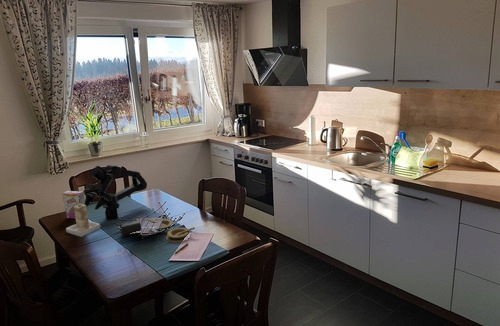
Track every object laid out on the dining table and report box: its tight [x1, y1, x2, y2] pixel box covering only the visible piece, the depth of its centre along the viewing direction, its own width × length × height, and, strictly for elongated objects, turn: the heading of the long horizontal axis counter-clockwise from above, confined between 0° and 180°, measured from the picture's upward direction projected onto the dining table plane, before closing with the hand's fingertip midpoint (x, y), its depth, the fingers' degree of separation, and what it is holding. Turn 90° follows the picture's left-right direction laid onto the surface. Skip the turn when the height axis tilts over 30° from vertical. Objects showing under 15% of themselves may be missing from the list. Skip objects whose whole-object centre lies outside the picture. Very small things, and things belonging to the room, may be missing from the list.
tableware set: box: [147, 218, 195, 244], centre depth 206 cm, size 30×20×6 cm, turn 43°
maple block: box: [74, 204, 89, 231], centre depth 211 cm, size 4×4×14 cm
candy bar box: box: [62, 190, 86, 220], centre depth 229 cm, size 11×5×16 cm, turn 80°
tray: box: [65, 220, 101, 238], centre depth 212 cm, size 13×13×2 cm
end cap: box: [119, 220, 142, 238], centre depth 204 cm, size 10×7×7 cm
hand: (90, 208), depth 215 cm, fingers open, 9 cm apart
